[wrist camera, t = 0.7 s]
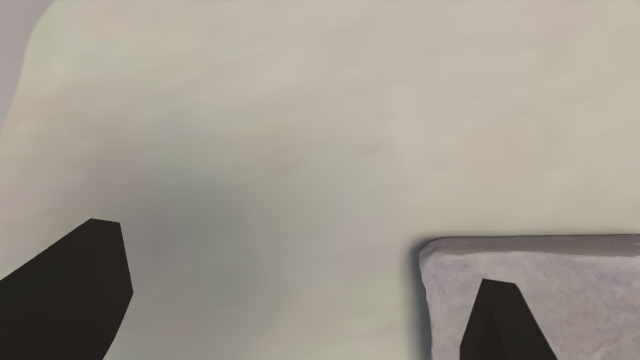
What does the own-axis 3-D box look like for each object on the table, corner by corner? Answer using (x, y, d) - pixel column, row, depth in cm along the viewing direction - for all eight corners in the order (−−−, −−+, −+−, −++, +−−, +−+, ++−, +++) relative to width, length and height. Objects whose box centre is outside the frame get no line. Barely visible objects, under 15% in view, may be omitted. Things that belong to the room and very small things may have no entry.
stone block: (653, 380, 30) (669, 214, 26) (685, 454, 26) (709, 268, 22) (430, 370, 33) (417, 221, 30) (426, 434, 29) (409, 269, 25)
